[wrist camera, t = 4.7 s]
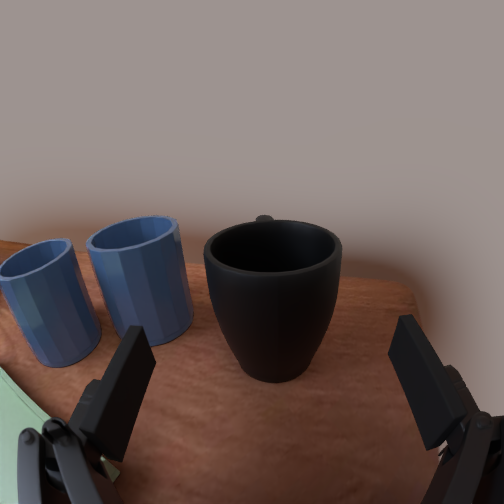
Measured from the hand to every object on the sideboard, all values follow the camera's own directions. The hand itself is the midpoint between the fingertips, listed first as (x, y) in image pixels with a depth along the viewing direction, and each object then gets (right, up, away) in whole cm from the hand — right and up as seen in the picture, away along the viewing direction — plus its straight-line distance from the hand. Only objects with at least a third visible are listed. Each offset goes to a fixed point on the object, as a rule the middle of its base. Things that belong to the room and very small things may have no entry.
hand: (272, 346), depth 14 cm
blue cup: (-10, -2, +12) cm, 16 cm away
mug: (+1, -3, +9) cm, 10 cm away
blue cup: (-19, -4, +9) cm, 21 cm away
